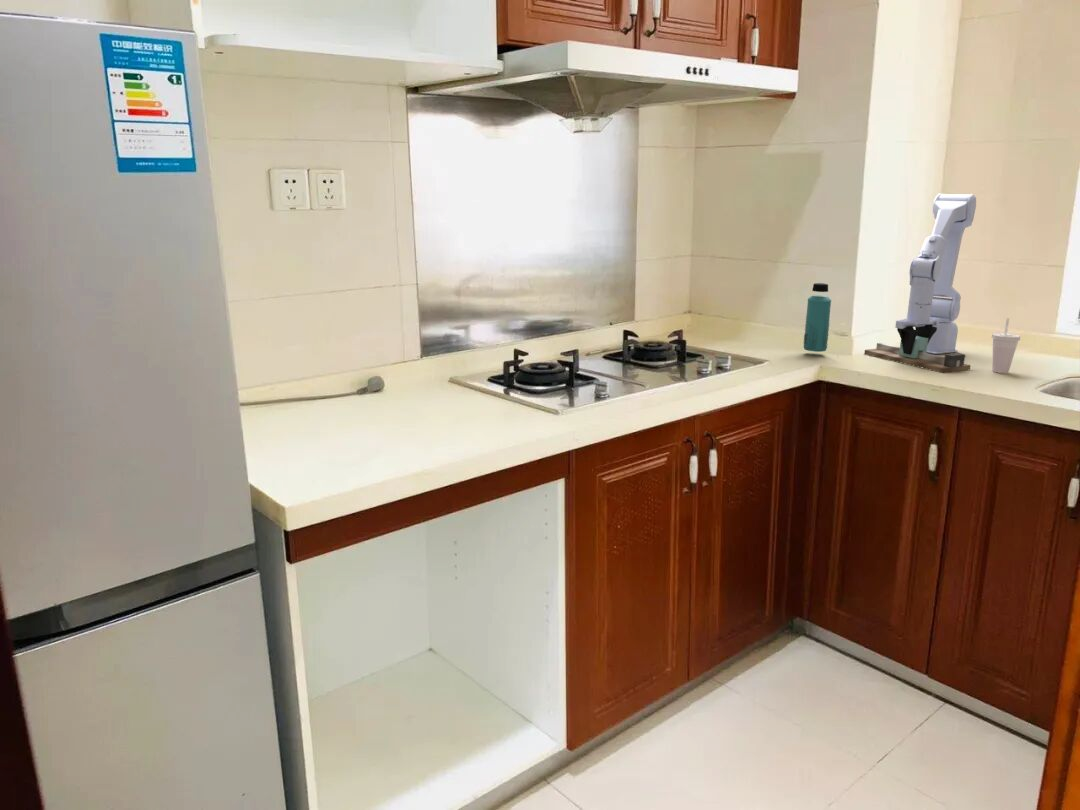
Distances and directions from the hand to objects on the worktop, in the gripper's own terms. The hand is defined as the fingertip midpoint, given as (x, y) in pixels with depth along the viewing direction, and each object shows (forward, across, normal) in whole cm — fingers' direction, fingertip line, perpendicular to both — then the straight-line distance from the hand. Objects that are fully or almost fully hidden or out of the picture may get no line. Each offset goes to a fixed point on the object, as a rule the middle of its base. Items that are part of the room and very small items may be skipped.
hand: (913, 353), depth 224 cm
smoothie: (+2, +10, -19) cm, 21 cm away
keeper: (+1, 0, 0) cm, 1 cm away
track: (+2, 0, -1) cm, 2 cm away
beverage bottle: (+2, -19, +17) cm, 26 cm away
